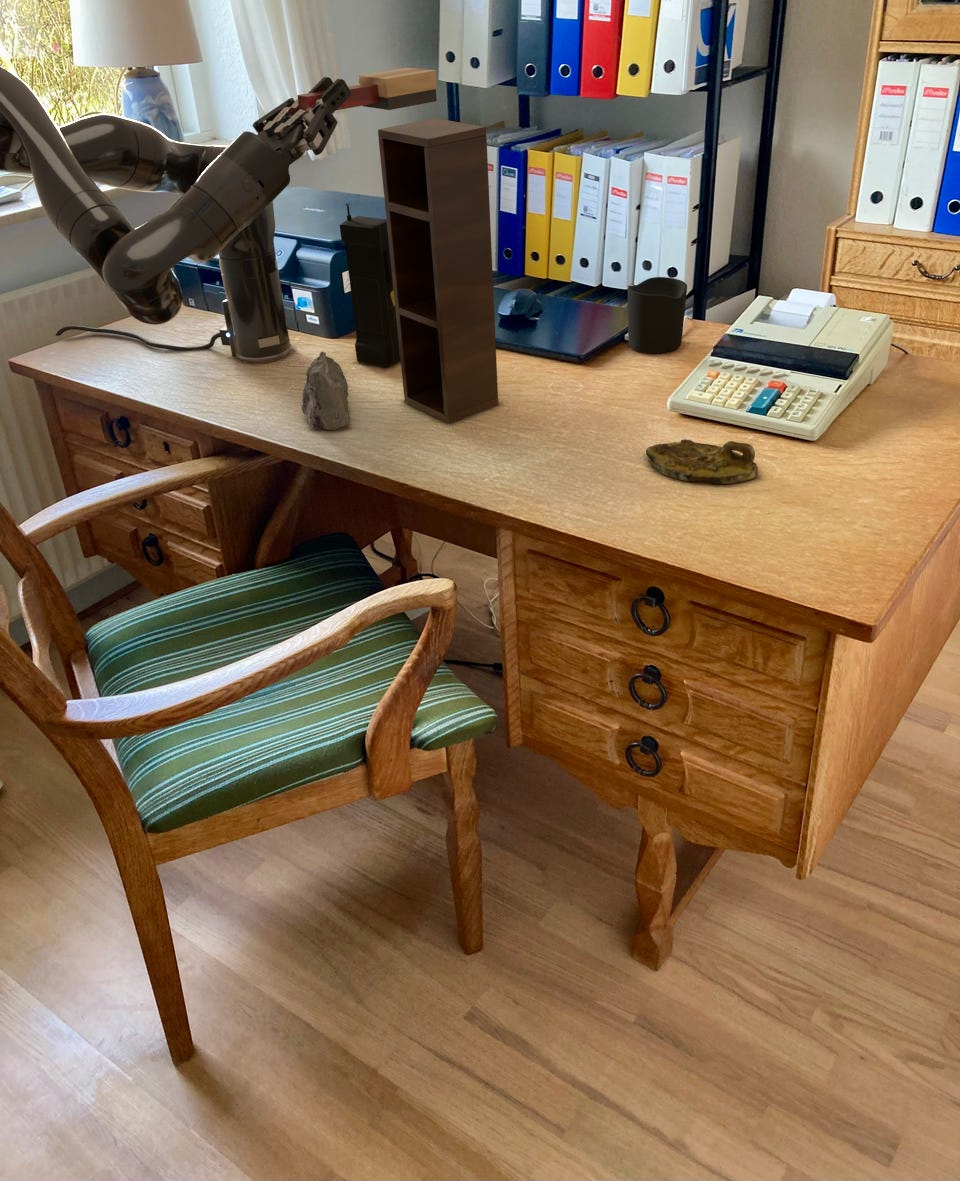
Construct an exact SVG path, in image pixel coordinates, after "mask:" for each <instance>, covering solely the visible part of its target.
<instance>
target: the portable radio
mask: <svg viewBox="0 0 960 1181" xmlns="http://www.w3.org/2000/svg"><path fill="white" fill-rule="evenodd" d="M350 205H351V204H350V203H345V206H346V210H347V215H346V220H343V221H342V222H341V223H340V224H339V232H340V240H341V242H343V243H344V246H345V247H344V248H345V254H346V262H347V271H348V279H349V286H350V296H351V302H352V303H351V304H352V311H353V319H354V326H355V327H354V328H355V337H356V339H355V343H354V349H355V356H356V361H357V363H360V364H364V365H370V366H374V367H375V366H376V367H380V368H389V367H391V366H393V365H395V364H397V363H399V362H401V361H400V351H399V341H398V331H397V321H396V311H395V301H394V291H393V281H392V270H391V260H390V250H389V240H388V230H387V220H386V218H379V217H370V216H362V215H356V216H353V217H352V214H351V213H350Z"/></svg>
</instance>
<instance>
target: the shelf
mask: <svg viewBox="0 0 960 1181" xmlns="http://www.w3.org/2000/svg"><path fill="white" fill-rule="evenodd" d="M377 137H378V147H379V148H378V150H379V158H380V160H379V161H380V168H381V179H382V189H383V190H382V191H383V199H384V208H385V209H384V211H385V219H386V220H387V230H388V240H389V250H390V260H391V270H392V281H393V291H394V301H395V311H396V321H397V331H398V341H399V351H400V361H399V362H400V371H401V380H402V392H403V400H404V404H407V405H409V406H411V407H413V408H414V409H417V410H419V411H421V412H423V413H425V414H428V415H430V416H432V417H433V418H436V419H437V420H439V421H441V422H444V423H445V424H448V425H450V424H453V423H456V422H458V421H460V420H463V419H465V418H467V417H470V416H472V415H476V414H478V413H480V412H483V411H485V410H488V409H491V408H493V407H497V406H498V405H499V387H498V385H499V384H498V362H497V342H496V322H495V321H496V319H495V318H496V317H495V297H494V295H495V294H494V278H493V277H494V275H493V250H492V229H491V228H492V226H491V207H490V206H491V205H490V184H489V182H490V181H489V159H488V157H489V156H488V138H487V127H486V126H483V125H477V124H473V123H472V124H471V123H466V122H460V121H453V120H447V119H441V118H437V117H435V118H429V119H428V118H427V119H423V120H419V121H413V122H408V123H404V124H399V125H393V126H388V127H383V128H378V129H377Z"/></svg>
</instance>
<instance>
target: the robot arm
mask: <svg viewBox="0 0 960 1181" xmlns="http://www.w3.org/2000/svg"><path fill="white" fill-rule="evenodd" d="M325 90H326V91H325ZM319 91H325V92H324V93H323V94H322V95H321V96H320V97H319V99H318V100H316V101H315V102H314V103H313V104H312V105H311V106H310V107H308V108H307V109H306V110H303V109H300V110H299V105H298V98H296V100H295V99H294V97H290V98H288V99H287V100H285V101H283V102H282V103H281V104H279V105H278V106H276V107H275V108H273V109H272V110H270V111H268V112H267V113H266V114H264V115H263V116H261V117H260V118H258V119H257V120H255V121H254V122H253V123H252V128H253V129H254V130H255V132H256V133H255V132H253V131H247V130H246V131H242V132H241V133H240V134H239V135H238V136H237V137H236V138H235V139H234V140H233V141H232V142H231V143H230V144H229V145H220V144H219V145H218V144H210V145H209V144H208V145H207V144H206V145H204V144H194V143H186V142H179V141H175V140H172V139H170V138H168V137H167V136H166V135H165V134H164V133H162V131H160V130H158V129H157V128H155V127H153V126H151V125H149V124H147V123H143V122H141V121H138V120H134V119H130V118H127V117H122V116H119V115H115V114H110V113H98V114H93V115H89V116H84V117H82V118H79V119H76V120H74V121H71V122H68V123H65V124H63V125H61V126H57V124H56V123H55V121H54V120H53V119H52V117H51V115H50V113H49V112H48V110H47V109H46V107H45V106H44V104H43V103H42V101H41V100H40V98H39V97H38V96H37V94H36V93H35V92H34V91H33V90H32V88H30V86H29V85H28V84H27V83H26V82H24V81H23V80H22V79H21V78H20V77H19V76H17V75H16V74H15V73H13V72H12V71H10V70H8V69H7V68H5V67H3V66H0V172H5V173H13V174H26V175H32V179H33V182H34V186H35V189H36V192H37V195H38V200H39V201H40V204H41V206H42V209H43V211H44V213H45V215H46V217H47V219H48V221H49V222H50V224H52V226H53V228H54V229H55V230H56V232H58V234H59V235H60V236H61V237H62V238H63V239H64V240H65V241H66V243H68V245H69V247H71V248H72V249H73V251H74V252H75V253H76V254H77V255H78V256H79V257H80V258H81V259H83V260H84V261H85V262H86V263H87V264H88V265H89V266H90V267H91V268H92V269H93V270H94V272H95V273H96V274H97V275H98V276H99V278H100V279H101V280H102V282H103V283H104V284H105V285H106V287H107V288H108V289H109V290H110V292H111V293H112V295H113V296H114V297H115V299H116V300H117V301H118V303H119V304H120V305H121V306H122V307H123V309H124V310H125V311H126V312H127V313H128V314H129V315H130V316H131V317H132V318H134V319H135V320H137V321H138V322H139V323H143V324H146V325H151V326H152V325H154V326H155V325H156V326H159V325H163V324H167V323H169V322H170V321H171V320H173V319H174V318H176V316H177V315H178V314H179V312H180V311H181V308H182V305H183V300H184V296H183V294H184V293H183V288H182V285H181V283H180V280H179V279H178V277H177V275H176V274H175V272H174V271H173V268H174V267H175V266H176V265H177V264H179V263H180V262H182V261H183V260H185V259H187V258H188V259H190V260H191V261H192V262H195V263H197V264H198V263H199V264H206V263H208V262H209V261H212V259H214V258H215V257H216V256H217V258H218V263H219V268H220V273H221V278H222V283H223V289H224V293H225V294H224V295H225V299H224V300H223V301H222V303H221V306H222V312H223V314H224V315H223V316H224V321H225V326H223V327H222V328H220V329H218V331H219V332H216V333H215V334H213V335H212V336H211V337H210V340H209V342H208V343H206V344H203V345H199V346H177V345H172V344H165V343H164V344H163V343H157V342H154V341H151V340H149V339H148V338H145V337H144V336H142V335H140V334H138V333H133V332H129V331H125V330H119V329H114V328H102V327H90V326H84V325H77V324H75V325H74V324H73V325H71V324H70V325H65V326H62V327H61V328H59V329H58V330H57V331H56V333H55V336H56V337H60V336H62V334H64V333H65V332H67V331H75V330H76V331H83V332H89V333H90V332H91V333H99V334H113V335H118V336H119V335H120V336H124V337H128V338H133V339H136V340H137V341H140V342H142V343H144V344H145V345H147V346H149V347H152V348H156V349H162V350H168V351H177V352H187V351H203V350H209V349H211V348H213V347H214V346H215V343H216V340H217V339H219V338H220V341H221V345H222V346H228V347H230V352H231V353H230V354H231V357H233V358H237V359H238V360H240V361H242V362H246V363H266V362H271V361H272V362H273V361H276V360H279V359H282V358H284V357H286V356H288V355H289V354H290V353H291V352H292V344H291V339H290V335H289V329H288V322H287V315H286V310H285V304H284V297H283V291H282V284H281V278H280V272H279V266H278V260H277V254H276V247H275V242H274V240H275V235H276V234H275V233H276V216H275V209H274V200H275V199H276V198H277V197H278V196H279V195H280V194H281V193H282V192H283V191H284V190H285V189H286V188H287V187H288V186H289V185H290V184H291V174H290V165H292V164H294V163H295V162H296V161H298V160H299V159H301V157H302V156H303V155H304V154H305V153H306V152H309V151H312V152H313V154H314V155H315V156H319V155H320V154H322V153H323V152H324V150H325V148H326V146H327V145H328V143H329V140H330V139H331V137H332V135H333V133H334V132H335V129H336V127H337V126H338V124H339V122H338V120H337V118H336V116H334V113H336V111H338V110H337V109H338V108H339V107H340V106H341V105H342V104H343V103H344V102H345V100H346V99H347V98H348V97H349V96H350V94H351V91H350V89H349V88H348V84H347V83H346V81H345V79H343V78H337V79H335V80H334V81H333V80H332V78H331V77H329V76H324V77H322V78H321V79H320V80H319V81H318V82H317V83H316V84H314V86H313V87H312V88H311V89H310V90H309V91H307V93H313V92H319ZM315 112H316V113H315ZM314 113H315V114H314ZM313 114H314V115H313ZM97 184H99V185H104V186H107V187H112V188H116V189H121V190H127V191H131V192H141V193H171V194H176V195H179V196H180V197H179V198H178V200H176V201H175V202H174V204H173V205H172V206H171V207H170V208H169V209H168V210H167V211H165V212H163V213H161V214H159V215H157V216H155V217H152V218H151V219H150V220H147V221H146V222H144V223H143V224H140V225H139V226H137V227H135V228H134V227H132V225H131V223H130V222H129V221H128V219H127V218H126V216H125V215H124V214H123V213H122V212H121V210H120V209H118V207H117V206H116V204H114V203H113V202H112V200H111V199H110V198H109V197H108V196H107V195H106V194H105V192H103V191H102V190H101V188H99V186H98V185H97Z"/></svg>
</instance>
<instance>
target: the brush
mask: <svg viewBox="0 0 960 1181" xmlns="http://www.w3.org/2000/svg"><path fill="white" fill-rule="evenodd" d="M357 78H358V84H353V85H349V86H348V85H347V86H348V88H349V89H350V91H351V94H350V96H349V97H348V98H347V99H346V100H345V102H344V103H343V104H342V105H341V106H340V107H339V108H338V109H337V110H336V111H341V110H346V109H352V108H357V107H364V108H370V109H371V108H372V109H378V110H385V111H392V110H398V109H404V108H407V107H413V106H419V105H424V104H430V103H436V102H438V99H437V90H438V85H437V70H435V69H424V68H414V67H403V68H395V69H391V70H384V71H378V72H372V73H366V74H362V75H361V74H360V75H358V76H357ZM325 91H326V90H325ZM325 91H319V92H313V93H308V92H307V93H302V94H297V95H296V97H297V98H296V99H298V105H299V110H300V109H303V110H306V109H307V108H308V107H310V106H311V105H312V104H313V103H314V102H315V101H316V100H318V99H319V97H320V96H321V95H322V94H323V93H324V92H325ZM315 113H316V112H315ZM315 113H314V114H315ZM314 114H313V115H314Z"/></svg>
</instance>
